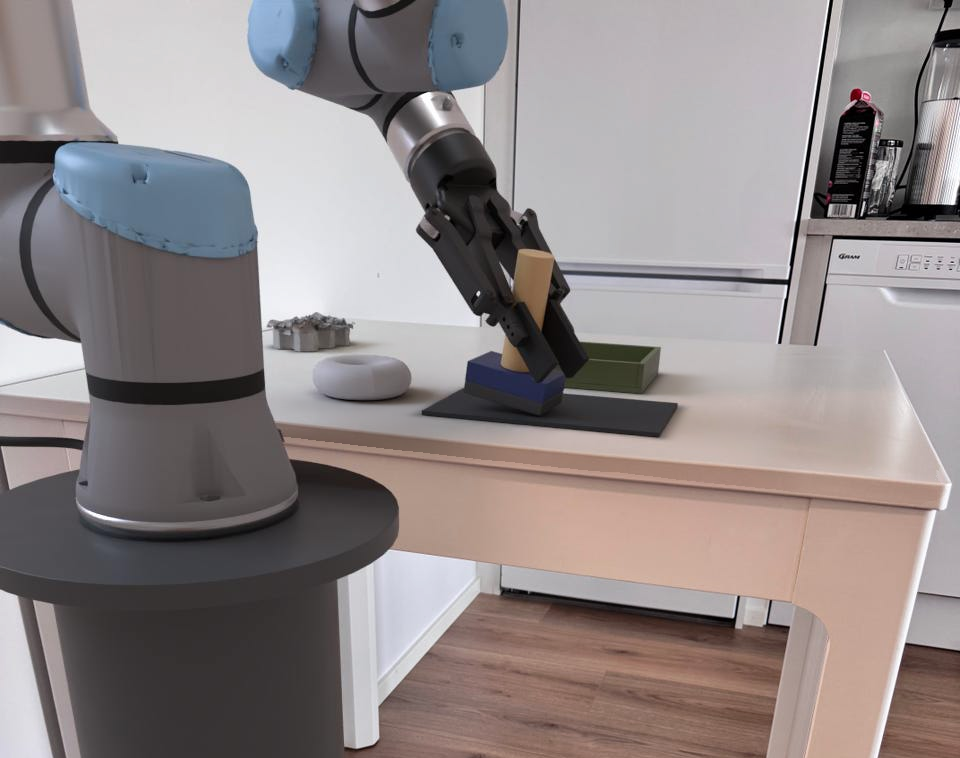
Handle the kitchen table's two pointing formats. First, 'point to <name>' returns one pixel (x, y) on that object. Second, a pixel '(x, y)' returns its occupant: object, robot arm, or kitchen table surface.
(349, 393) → the donut
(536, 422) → the mat
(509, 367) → the brush
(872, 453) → the kitchen table surface
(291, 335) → the egg carton
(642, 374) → the tray
